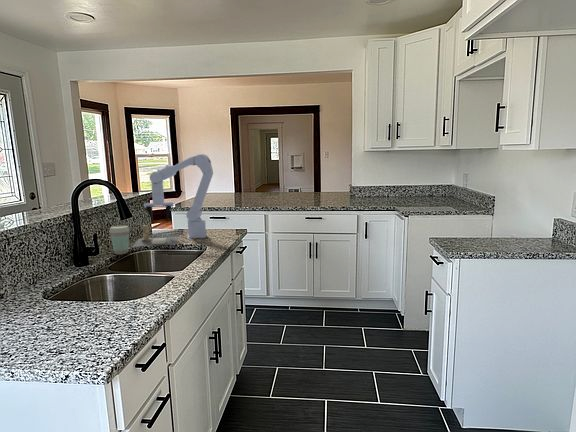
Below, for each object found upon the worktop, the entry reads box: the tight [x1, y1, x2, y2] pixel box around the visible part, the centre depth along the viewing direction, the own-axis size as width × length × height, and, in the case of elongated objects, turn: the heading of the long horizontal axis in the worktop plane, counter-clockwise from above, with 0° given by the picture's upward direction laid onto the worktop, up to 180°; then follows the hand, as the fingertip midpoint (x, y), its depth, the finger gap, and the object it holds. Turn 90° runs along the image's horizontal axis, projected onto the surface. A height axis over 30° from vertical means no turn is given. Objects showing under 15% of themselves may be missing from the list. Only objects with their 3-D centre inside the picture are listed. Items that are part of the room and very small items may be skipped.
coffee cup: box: [109, 225, 130, 255], centre depth 173 cm, size 8×8×12 cm
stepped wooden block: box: [141, 224, 152, 242], centre depth 195 cm, size 4×4×8 cm
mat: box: [131, 236, 179, 248], centre depth 194 cm, size 20×18×1 cm
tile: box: [152, 237, 167, 244], centre depth 191 cm, size 6×2×6 cm
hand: (159, 220), depth 204 cm, fingers open, 7 cm apart
